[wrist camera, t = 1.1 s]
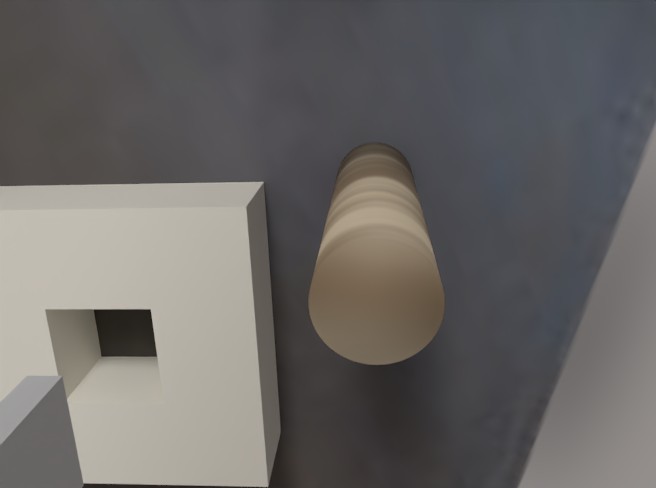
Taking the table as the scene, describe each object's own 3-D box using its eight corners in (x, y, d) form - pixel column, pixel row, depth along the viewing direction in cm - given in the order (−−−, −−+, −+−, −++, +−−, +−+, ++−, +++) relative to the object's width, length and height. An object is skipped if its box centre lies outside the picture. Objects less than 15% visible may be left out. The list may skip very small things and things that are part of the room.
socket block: (-18, 186, 35) (-79, 211, 30) (263, 181, 34) (246, 206, 29) (35, 428, 40) (-10, 481, 36) (280, 431, 39) (268, 487, 34)
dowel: (336, 143, 33) (305, 241, 18) (412, 141, 33) (446, 239, 18) (338, 216, 34) (311, 364, 19) (411, 215, 34) (443, 365, 19)
